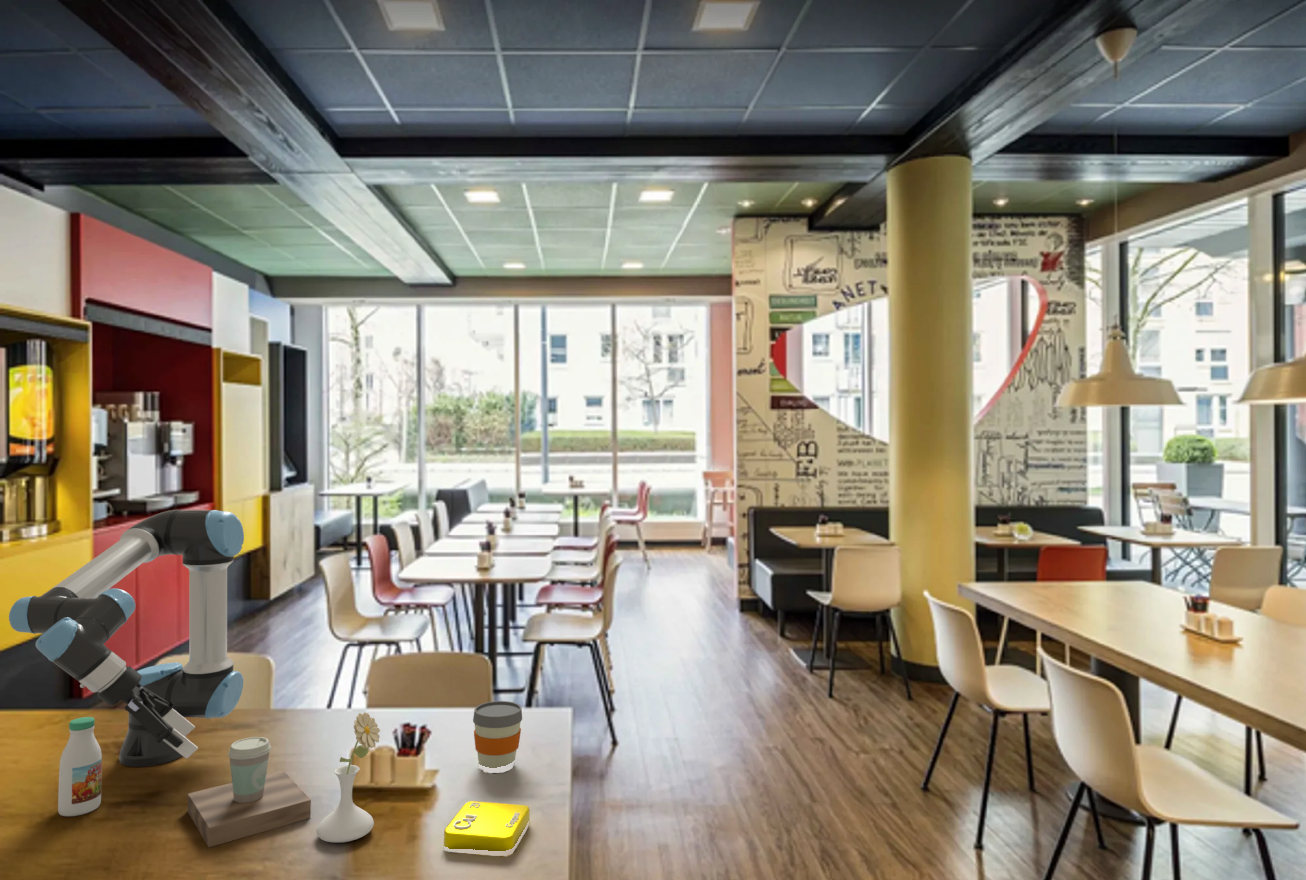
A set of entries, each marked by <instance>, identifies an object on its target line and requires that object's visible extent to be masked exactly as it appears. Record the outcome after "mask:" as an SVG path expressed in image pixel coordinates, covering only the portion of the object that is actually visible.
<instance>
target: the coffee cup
mask: <svg viewBox="0 0 1306 880" xmlns="http://www.w3.org/2000/svg"><path fill="white" fill-rule="evenodd" d="M271 751H272V746H271V744H270V741H269V739H268V738H267V737H263V736H250V737H247V738H246V737H245V738H242V739H241V738H240V739H238V740H235V741H234V742H233V743H231V745H230V748H229V750H228V753H227V756H228V758H229V765H230V774H231V783H232V786H233V795H234V801H236V802H238V803H248V802H252V801H256V800H258V799H260V798H261V797H262V796H263V793H264V787H265V780H266V774H268V773H267V770H268V764H269V759H270V758H269V757H270V752H271Z"/></svg>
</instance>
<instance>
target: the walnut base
mask: <svg viewBox="0 0 1306 880" xmlns="http://www.w3.org/2000/svg"><path fill="white" fill-rule="evenodd" d="M311 801H312V799H311V798H310V797H309V796H308V794H306V793H305V792H304V790H302V789H301V788H300V787H299V786H298V784H296V783H295V781H294V780H293V779H292V778H291V777H290V776H289V775H288V774H287V773H286V772H285V770H284V769H282V770H278V771H274V772H269V773H266V780H265V787H264V793H263V796H262V797H261V798H260V799H258V800H256V801H252V802H248V803H238V802H236V801H234V795H233V786H232V782H230V783H226V784H222V785H217V786H212V787H209V788H205V789H201V790H197V791H193V792H189V793H187V813H188V815H189V817H190V816H191V817H190V819H191V820H192V819H193V820H192V822H193V821H194V822H193V824H194V825H195V826H196V828H198V829H197V830H198V832H199V834H200V835H201V837H202V838H203V841H204V842H205V844H206V846H207V847H208V848H212V847H215V846H218V845H222V844H225V843H229V842H231V841H232V840H233V841H237V840H239V839H243V838H245V837H248V836H249V837H250V836H252V835H255V834H260V833H263V832H267V831H270V830H273V829H277V828H280V827H284V826H287V825H290V824H294V823H297V822H301V821H304V820H308V819H311V814H312V813H311V812H312V810H311V808H312V807H311V806H312V802H311ZM233 841H232V842H233Z"/></svg>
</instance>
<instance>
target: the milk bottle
mask: <svg viewBox="0 0 1306 880" xmlns="http://www.w3.org/2000/svg"><path fill="white" fill-rule="evenodd" d="M68 723H69V724H68V727H69V728H68V729H69V730H68V733H69V738H68V742H67V743H66V745H65V746H64V748H63V750H62V754H60V755H61V756H60V759H59V768H58V770H59V771H58V772H59V773H58V792H57V793H58V797H57V798H58V799H57V811H58V814H59V815H60V816H62V817H76V816H77V817H78V816H82V815H86V814H88V813H91V812H93V811H95V810H96V809H98V808H99V807H100V805H101V803H102V778H103V777H102V775H103V774H102V772H103V771H102V769H103V767H102V766H103V756H102V749H101V746H100V744H99V742H98V740H97V739H96V736H95V734H94V729H95V723H96V721H95V718H94V717H92V716H83V717H79V718H74V719H72V720H71V721H69V722H68Z"/></svg>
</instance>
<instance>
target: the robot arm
mask: <svg viewBox="0 0 1306 880" xmlns="http://www.w3.org/2000/svg"><path fill="white" fill-rule="evenodd" d="M244 540H245V535H244V527H243V524H242V522H241V520H240V519H239V518H238V516H237V515H236V514H234V513H233V512H230V511H223V510H217V509H206V510H205V509H200V510H199V509H198V510H197V509H172V510H170V509H169V510H166V511H162V512H160V513H157V514H154V515H151V516H149V517H147V518H145V519H143V520H141V521H140V522H138V523H136V524H133V526H131V527H129V528H128V529H127V530H125V531H124V532H123V533H122V534H121V535H120V537H119V540H118V541H117V542H115V543H113V545H110V547H108V548H107V549H105V551H104V550H103V552H101V553H100V554H99V555H98V554H97V556H95V557H94V558H93V559H92V560H90V561H89V562H86V564H85V565H83V566H81V567H80V568H79V569H77V570H75V572H73V573H72V574H70V575H69V576H67V577H66V578H65V579H63V580H62V581H60V582H59V583H57V584H56V585H54V586H53V587H52V588H51V589H49V590H48V591H45V592H44V593H43V594H42V595H40V596H36V595H32V596H23V597H21V598H19V599H17V600H16V601H15V602H14V603H13V605H12V606H11V607H10V611H9V612H8V613H9V615H8V621H9V624H10V627H11V628H12V629H13V630H14V631H16V632H19V633H28V634H29V633H30V634H32V635H34V634H35V635H36V634H40V636H39V637H38V639H37V640H36V641H35V647H36V649H37V650H38V651H39V652H40V653H41V654H42V655H43V656H45V657H46V658H47V660H48V661H50V662H52V663H53V664H54V665H56V666H57V667H59V668H60V669H61V670H63V671H64V672H65V673H67V674H68V675H69V676H70V677H72V678H73V679H75V680H76V681H78V682H79V683H80V685H79V687H80V688H81V689H84V688H85V687H86V688H87V689H88V690H89V691H90V692H92V693H97V694H96V696H97V697H98V698H99V699H100V700H101V701H103V702H104V703H105V704H107V705H108V706H114V705H116V704H118V703H119V702H120V701H123V702H124V704H125V705H126V706H124V707H123V708H124V710H125V711H127V712H128V727H127V728H128V730H127V732H126V735H125V738H124V740H123V743H122V745H121V748H120V751H119V759H118V760H119V761H118V762H119V763H120V764H121V765H123V766H124V767H134V768H135V767H137V768H140V767H150V766H156V765H157V766H158V765H161V764H165V763H170V762H172V761H175V760H177V759H179V758H181V757H183V758H185V759H186V760H187V759H188V758H190V757H191V756H192V755H193V754H194V753H195V752H196V751H197V750H199V746H197V745H196V744H195V743H193V742H192V741H191V740H189V739H188V738H187V737H188V736H187V735H189V734H190V733H191V732H192V731H193V730H194V729H195V728H196V726H195V725H194V724H192V722H190V721H189V720H188V719H186V718H196V719H198V718H199V719H207V720H209V719H213V718H214V719H215V718H225V717H226V716H228V715H229V714H231V713H232V712H233V710H234V709H235V708H236V707H237V704H238V703H239V701H240V699H241V696H242V692H243V688H244V677H243V675H242V673H241V672H240V671H238V670H234V660H233V659H231V658H230V657H228V567H229V566H230V565H231V564H232V563H233V562H234V561H235V557H234V556H237V555H239V554H240V553H241V550H242V549H243V546H242V545H243V544H244ZM168 555H172V556H173V555H175V556H182V565H183V566H184V567H185V568H186V569H188V572H189V576H188V578H189V580H188V581H189V583H188V585H189V586H188V588H189V594H188V595H189V599H188V600H189V602H188V603H189V605H188V607H189V611H188V613H189V614H188V615H189V616H188V617H189V618H188V619H189V620H188V622H189V623H188V624H189V625H188V626H189V627H188V630H189V634H188V635H189V636H188V637H189V640H188V642H189V646H188V647H189V648H188V649H189V650H188V651H189V652H188V654H189V657H188V662H187V663H186V664H185V665H184V666H183V664H182V663H181V662H176V661H175V662H167V663H161V664H155V665H152V666H148V667H145V668H142V669H139V670H135V668H133V667H131V666H130V665H129V666H127V661H125V660H123V659H122V658H121V657H120V656H119V655H117V654H116V653H115V652H113V651H112V650H111V649H109V648H108V647H107V645H105V644H106V642H108V641H109V639H110V638H111V637H112V636H113V635H114V634H116V632H117V631H118V630H119V629H120V628H121V627H122V626H123V625H126V623H127V621H128V620H129V618H131V616H132V614H134V612H135V610H136V602H135V600H134V599H135V598H133V596H132V595H131V594H130V593H128V592H127V591H126V590H123V589H120V588H112V587H114V586H115V585H116V584H117V583H118V582H121V580H122V579H124V578H125V577H126V576H128V575H129V574H130V573H132V572H133V571H134V570H135V569H137V568H138V567H139V566H140V565H142V564H147V563H151V562H153V561H154V560H155V559H156V558H158V557H162V556H168Z"/></svg>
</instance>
